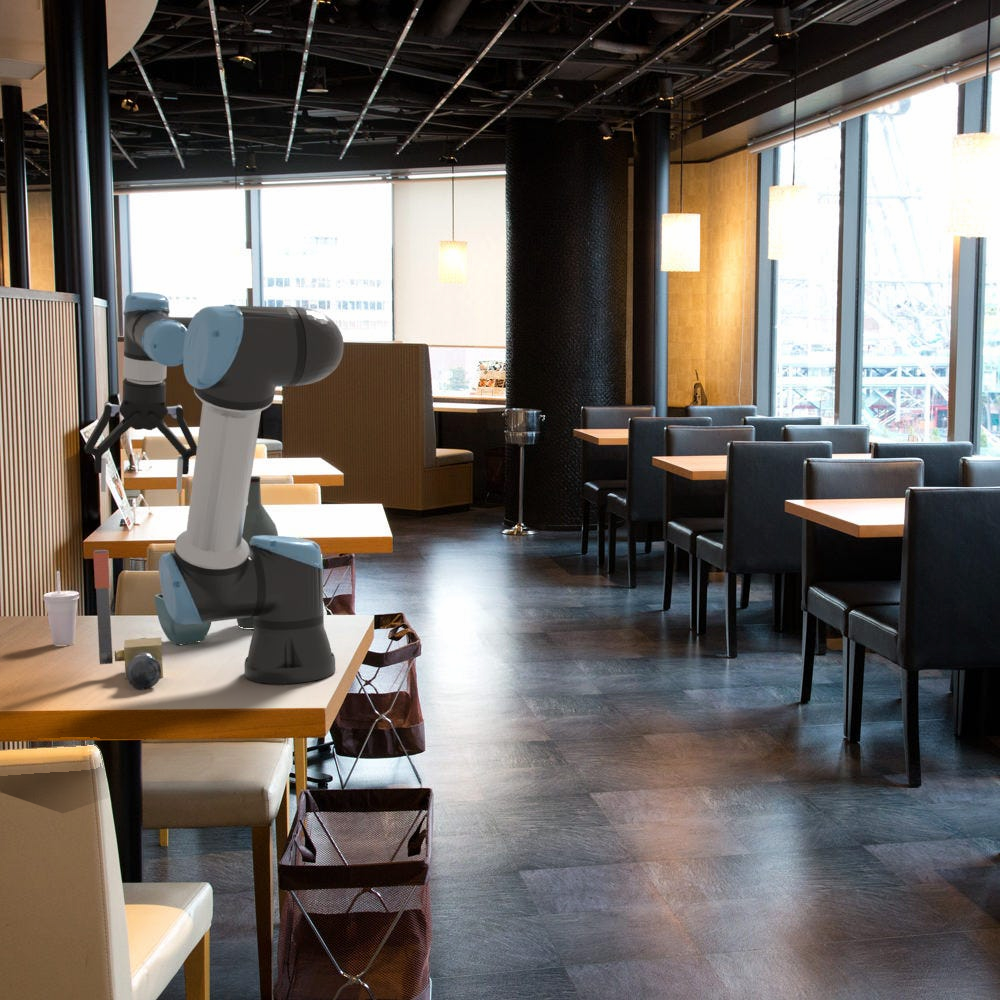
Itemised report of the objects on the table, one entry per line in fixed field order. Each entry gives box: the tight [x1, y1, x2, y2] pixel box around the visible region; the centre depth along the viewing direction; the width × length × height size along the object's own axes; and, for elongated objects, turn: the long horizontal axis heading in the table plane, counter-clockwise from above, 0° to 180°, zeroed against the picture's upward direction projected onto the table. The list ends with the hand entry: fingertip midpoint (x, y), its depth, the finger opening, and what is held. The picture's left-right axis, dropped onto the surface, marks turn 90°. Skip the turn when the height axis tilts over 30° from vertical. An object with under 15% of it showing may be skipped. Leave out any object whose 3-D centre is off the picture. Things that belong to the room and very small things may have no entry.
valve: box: [114, 637, 164, 690], centre depth 200 cm, size 14×8×6 cm, turn 16°
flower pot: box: [154, 593, 212, 645], centre depth 227 cm, size 9×9×9 cm
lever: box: [92, 549, 114, 665], centre depth 200 cm, size 2×2×19 cm
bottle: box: [236, 475, 279, 628], centre depth 239 cm, size 9×9×30 cm
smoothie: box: [42, 570, 80, 646], centre depth 225 cm, size 6×6×14 cm
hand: (141, 489), depth 224 cm, fingers open, 13 cm apart
